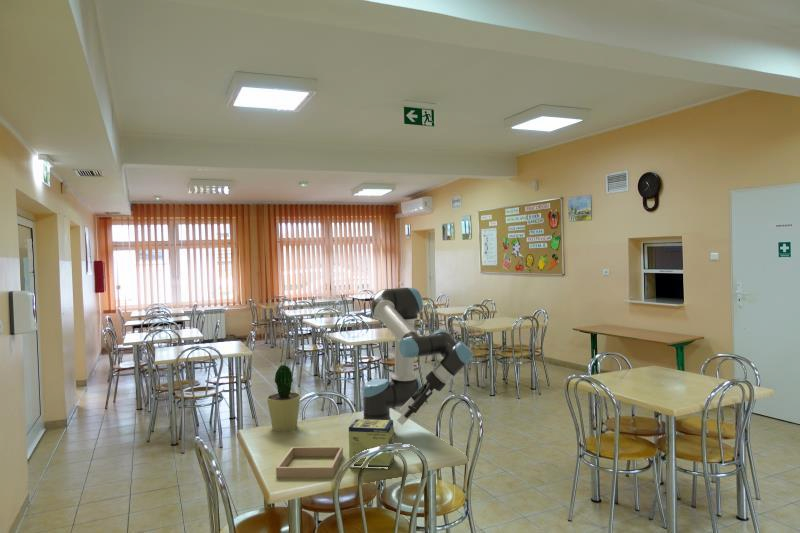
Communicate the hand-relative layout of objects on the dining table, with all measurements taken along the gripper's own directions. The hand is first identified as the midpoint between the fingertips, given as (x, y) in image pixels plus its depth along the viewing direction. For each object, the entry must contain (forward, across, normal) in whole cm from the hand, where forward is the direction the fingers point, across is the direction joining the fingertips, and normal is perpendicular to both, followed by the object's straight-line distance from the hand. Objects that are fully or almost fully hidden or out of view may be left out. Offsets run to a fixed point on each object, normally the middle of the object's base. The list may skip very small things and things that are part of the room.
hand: (400, 417), depth 206 cm
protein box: (+21, 0, -5) cm, 21 cm away
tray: (+37, -2, +12) cm, 39 cm away
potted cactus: (+54, +46, +29) cm, 77 cm away
